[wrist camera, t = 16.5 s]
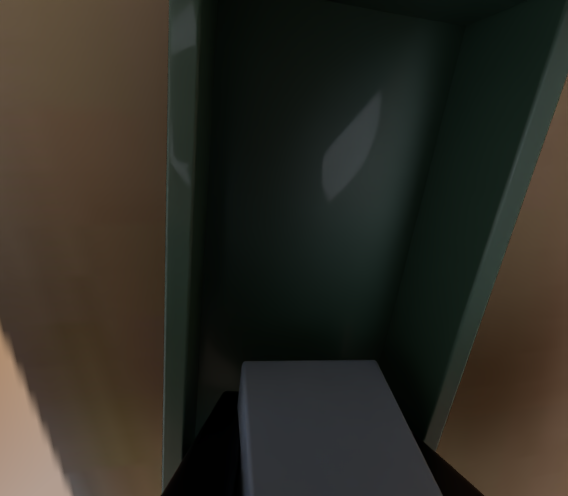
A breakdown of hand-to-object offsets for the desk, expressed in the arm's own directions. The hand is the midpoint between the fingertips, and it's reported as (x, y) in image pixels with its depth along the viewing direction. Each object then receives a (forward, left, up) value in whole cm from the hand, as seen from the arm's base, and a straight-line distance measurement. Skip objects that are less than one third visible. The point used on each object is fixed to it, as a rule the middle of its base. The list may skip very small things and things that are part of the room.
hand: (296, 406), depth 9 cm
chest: (+3, 0, -2) cm, 3 cm away
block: (0, 0, 0) cm, 1 cm away
